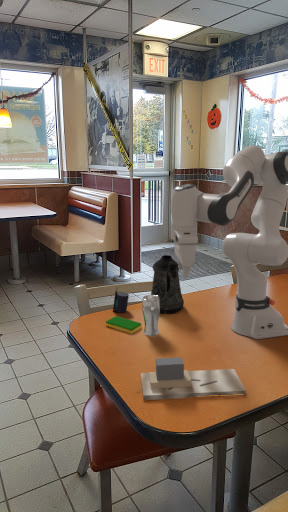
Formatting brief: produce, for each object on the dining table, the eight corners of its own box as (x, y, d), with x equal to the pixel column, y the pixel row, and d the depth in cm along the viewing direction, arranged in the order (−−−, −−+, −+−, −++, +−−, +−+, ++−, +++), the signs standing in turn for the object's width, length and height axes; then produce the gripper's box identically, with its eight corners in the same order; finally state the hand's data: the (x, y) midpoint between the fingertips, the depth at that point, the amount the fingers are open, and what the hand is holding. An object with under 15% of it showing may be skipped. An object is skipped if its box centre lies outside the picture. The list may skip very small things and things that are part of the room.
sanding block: (187, 375, 120) (187, 355, 118) (191, 386, 114) (191, 365, 113) (149, 377, 119) (148, 357, 118) (150, 388, 114) (150, 367, 112)
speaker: (108, 311, 176) (110, 289, 173) (114, 307, 181) (116, 286, 178) (123, 315, 173) (125, 293, 170) (128, 311, 178) (131, 290, 176)
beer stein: (165, 299, 191) (165, 250, 185) (196, 309, 177) (197, 257, 171) (141, 307, 180) (140, 256, 174) (171, 319, 166) (171, 263, 160)
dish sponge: (116, 320, 167) (116, 315, 166) (142, 328, 159) (141, 323, 158) (105, 326, 161) (105, 321, 161) (131, 334, 153) (131, 329, 153)
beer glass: (158, 337, 150) (158, 301, 146) (141, 336, 151) (140, 300, 148) (161, 329, 156) (161, 295, 153) (144, 328, 158) (144, 294, 154)
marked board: (233, 373, 124) (233, 368, 124) (245, 395, 113) (245, 390, 112) (140, 377, 122) (140, 372, 122) (143, 400, 111) (143, 395, 110)
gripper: (170, 228, 139) (170, 265, 143) (179, 239, 120) (178, 282, 123) (187, 228, 140) (187, 264, 143) (199, 239, 120) (198, 281, 123)
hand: (183, 273), depth 133 cm, fingers open, 8 cm apart
